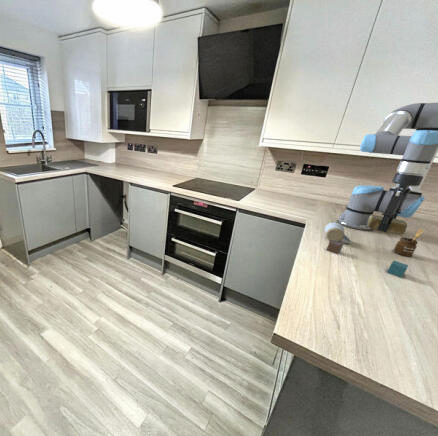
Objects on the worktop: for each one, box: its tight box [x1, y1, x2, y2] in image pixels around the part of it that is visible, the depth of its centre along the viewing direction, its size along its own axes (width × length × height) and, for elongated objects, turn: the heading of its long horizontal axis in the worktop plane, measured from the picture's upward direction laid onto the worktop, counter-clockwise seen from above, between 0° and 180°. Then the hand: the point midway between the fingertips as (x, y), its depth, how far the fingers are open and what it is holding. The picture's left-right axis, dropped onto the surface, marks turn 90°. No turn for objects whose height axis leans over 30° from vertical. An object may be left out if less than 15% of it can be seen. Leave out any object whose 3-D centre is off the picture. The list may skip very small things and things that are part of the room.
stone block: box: [367, 214, 408, 236], centre depth 96 cm, size 6×12×5 cm, turn 53°
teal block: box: [386, 260, 410, 278], centre depth 88 cm, size 4×4×4 cm
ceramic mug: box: [324, 221, 352, 244], centre depth 113 cm, size 11×8×8 cm
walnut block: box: [326, 240, 344, 254], centre depth 103 cm, size 4×4×4 cm
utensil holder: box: [393, 228, 425, 257], centre depth 102 cm, size 6×6×12 cm
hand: (384, 229), depth 97 cm, fingers closed on stone block, 7 cm apart
